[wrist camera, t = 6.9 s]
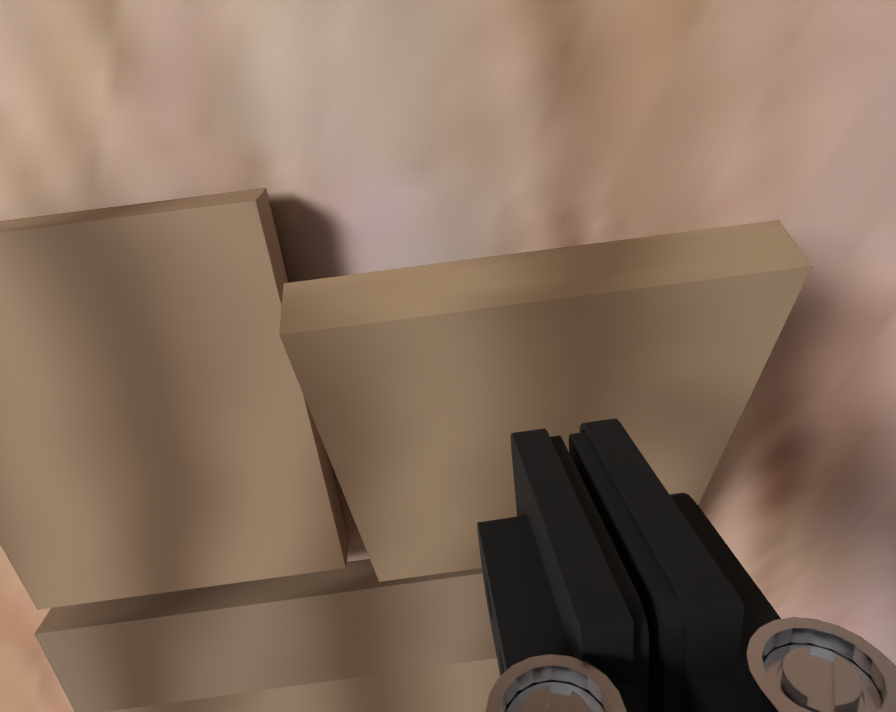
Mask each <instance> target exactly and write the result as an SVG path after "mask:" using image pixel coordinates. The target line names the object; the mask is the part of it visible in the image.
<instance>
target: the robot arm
mask: <svg viewBox="0 0 896 712" xmlns="http://www.w3.org/2000/svg"><path fill="white" fill-rule="evenodd" d="M511 452H512V464H513V475H514V487H515V498H516V510H517V517H511V518H504V519H497V520H490V521H484V522H477V530H478V540H479V548H480V557H481V565H482V573H483V580H484V587H485V593H486V600H487V606H488V612H489V618H490V623H491V629H492V634H493V639H494V645H495V650H496V656H497V661H498V667H499V672H500V677H499V678H498V680H497V681H496V683H495V685H494V686H493V688H492V690H491V692H490V693H489V697H488V703H487V708H486V712H896V666H895V665H894V664H893V663H892V662H891V661H890V660H889V659H888V658H887V657H886V656H885V655H884V654H883V653H881V652H880V651H879V650H878V649H876V648H875V647H874V646H872V645H871V644H870V643H868V642H867V641H866V640H864V639H863V638H862V637H860V636H858V635H856V634H854V633H852V632H850V631H848V630H846V629H844V628H842V627H840V626H837V625H834V624H831V623H827V622H824V621H820V620H817V619H808V618H797V617H792V618H785V619H781V618H780V617H779V615H778V614H777V613H776V611H775V610H774V609H773V607H772V606H771V604H770V603H769V602H768V600H767V599H766V598H765V596H764V595H763V594H762V592H761V591H760V589H759V588H758V587H757V585H756V584H755V583H754V581H753V580H752V579H751V577H750V576H749V574H748V573H747V572H746V570H745V569H744V568H743V566H742V565H741V564H740V562H739V561H738V559H737V558H736V557H735V555H734V554H733V553H732V551H731V550H730V549H729V547H728V546H727V544H726V543H725V542H724V540H723V539H722V538H721V536H720V535H719V534H718V532H717V531H716V529H715V528H714V527H713V525H712V524H711V523H710V521H709V520H708V519H707V517H706V516H705V514H704V513H703V512H702V510H701V509H700V508H699V506H698V505H697V504H696V502H695V501H694V500H693V499H692V498H691V497H690V495H689V494H686V493H677V494H670V495H669V493H668V492H667V490H666V489H665V487H664V486H663V484H662V483H661V481H660V480H659V478H658V477H657V476H656V474H655V473H654V471H653V470H652V468H651V467H650V465H649V464H648V462H647V461H646V459H645V458H644V456H643V455H642V454H641V452H640V451H639V449H638V448H637V446H636V445H635V443H634V442H633V440H632V439H631V437H630V436H629V435H628V433H627V432H626V430H625V429H624V427H623V426H622V424H621V423H620V421H619V420H618V419H615V418H614V419H607V420H600V421H593V422H586V423H581V425H580V430H579V433H573V434H570V435H569V451H568V449H567V447H566V445H565V443H564V441H563V439H562V437H561V436H560V435H558V436H551V437H550V436H549V434H548V431H547V430H546V429H545V428H543V429H536V430H529V431H522V432H515V433H511Z"/></svg>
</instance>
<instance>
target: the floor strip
mask: <svg viewBox="0 0 896 712" xmlns="http://www.w3.org/2000/svg"><path fill="white" fill-rule="evenodd" d="M35 636H36V638H37V640H38V642H39V644H40V646H41V647H42V649H43V651H44V653H45V655H46V657H47V659H48V661H49V663H50V665H51V667H52V669H53V671H54V672H55V674H56V676H57V678H58V680H59V682H60V684H61V686H62V688H63V690H64V692H65V694H66V696H67V697H68V699H69V701H70V703H71V705H72V707H73V709H74V711H75V712H486V708H487V703H488V697H489V693H490V692H491V690H492V688H493V686H494V685H495V683H496V681H497V680H498V678H499V677H500V672H499V667H498V661H497V656H496V650H495V645H494V639H493V634H492V629H491V623H490V618H489V612H488V606H487V600H486V593H485V587H484V580H483V573H482V568H478V569H470V570H463V571H455V572H448V573H441V574H433V575H426V576H418V577H411V578H404V579H396V580H389V581H381V582H379V580H378V578H377V575H376V573H375V570H374V568H373V565H372V563H371V560H363V561H356V562H348V563H346V568H343V569H335V570H328V571H320V572H313V573H306V574H298V575H291V576H283V577H276V578H268V579H261V580H254V581H246V582H239V583H231V584H224V585H217V586H209V587H202V588H194V589H187V590H179V591H172V592H165V593H157V594H150V595H142V596H135V597H128V598H120V599H113V600H105V601H98V602H90V603H83V604H76V605H68V606H61V607H53V608H51V609H50V611H49V613H48V614H47V616H46V617H45V619H44V620H43V622H42V623H41V625H40V626H39V628H38V630H37V631H36V633H35Z"/></svg>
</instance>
